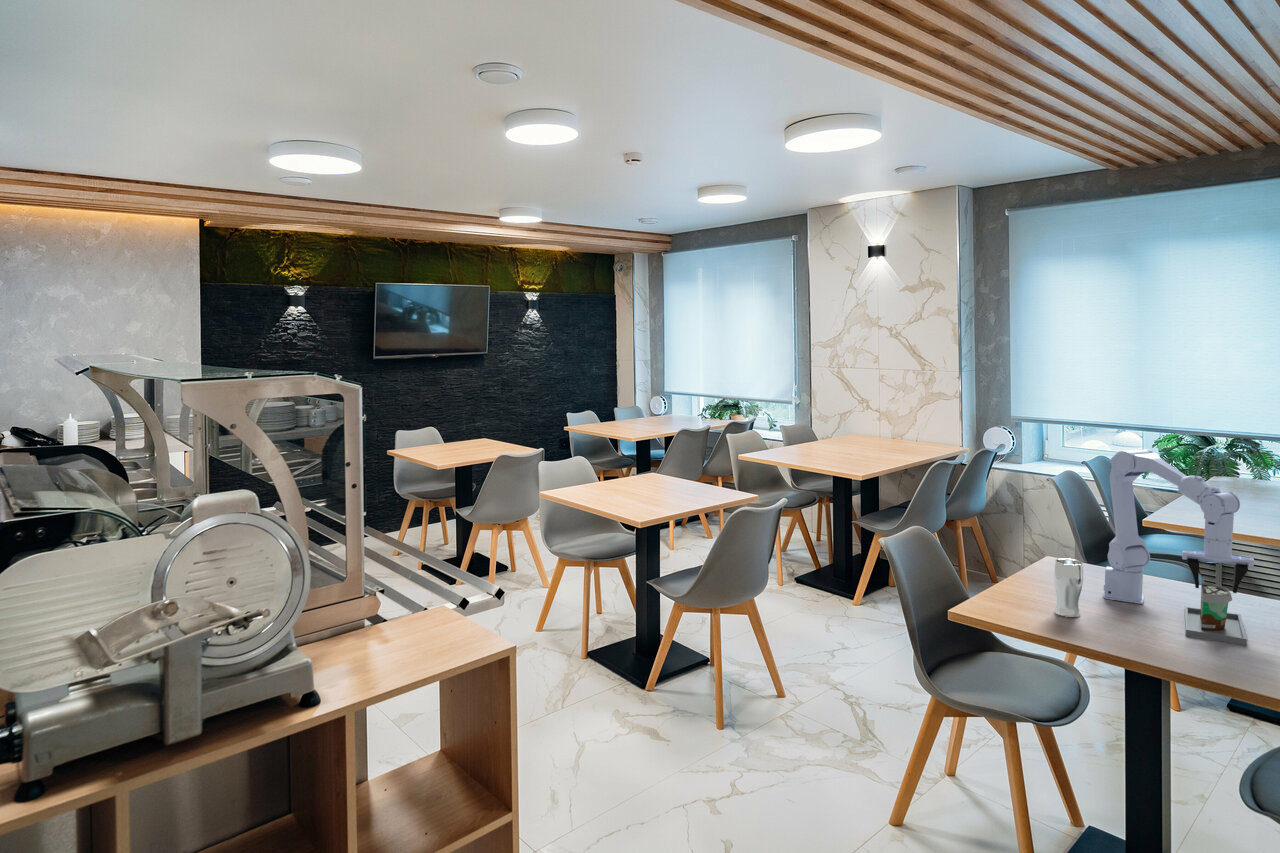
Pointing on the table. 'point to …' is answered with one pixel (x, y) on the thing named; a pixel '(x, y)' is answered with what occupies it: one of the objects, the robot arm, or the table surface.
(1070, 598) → the beer glass
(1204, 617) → the food container
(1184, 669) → the table surface
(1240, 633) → the gray tray
